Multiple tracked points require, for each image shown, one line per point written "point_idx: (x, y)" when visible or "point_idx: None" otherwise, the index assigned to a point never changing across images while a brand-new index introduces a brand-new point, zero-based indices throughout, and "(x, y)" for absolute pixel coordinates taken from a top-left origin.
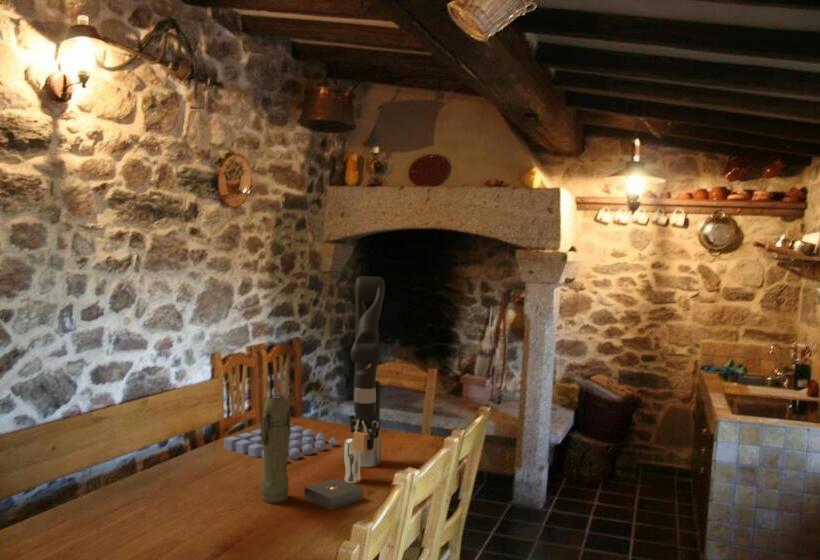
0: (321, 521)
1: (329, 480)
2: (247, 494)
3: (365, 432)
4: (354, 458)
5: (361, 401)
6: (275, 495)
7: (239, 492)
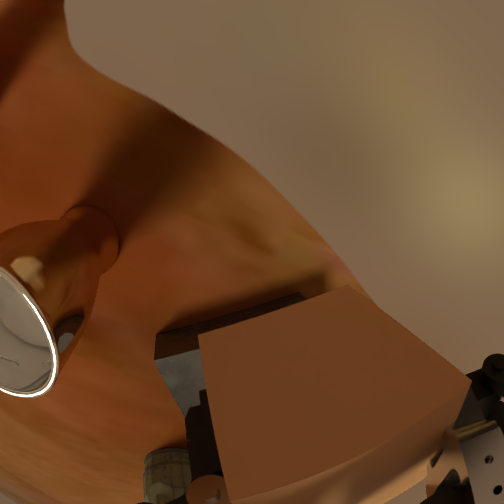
0: None
1: (173, 389)
2: (132, 483)
3: (434, 486)
4: (94, 300)
5: None
6: None
7: (117, 487)
